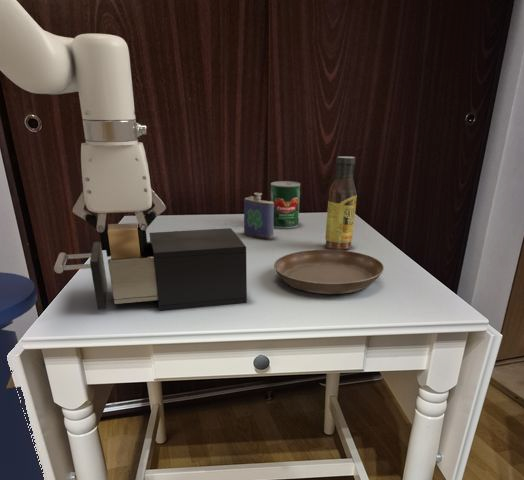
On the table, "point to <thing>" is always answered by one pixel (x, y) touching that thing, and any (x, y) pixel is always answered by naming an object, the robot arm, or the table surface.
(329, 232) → the sauce bottle
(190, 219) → the table surface
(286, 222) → the canned tomato
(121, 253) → the block
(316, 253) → the plant saucer
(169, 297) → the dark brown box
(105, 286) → the drawer
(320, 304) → the table surface
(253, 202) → the flask
